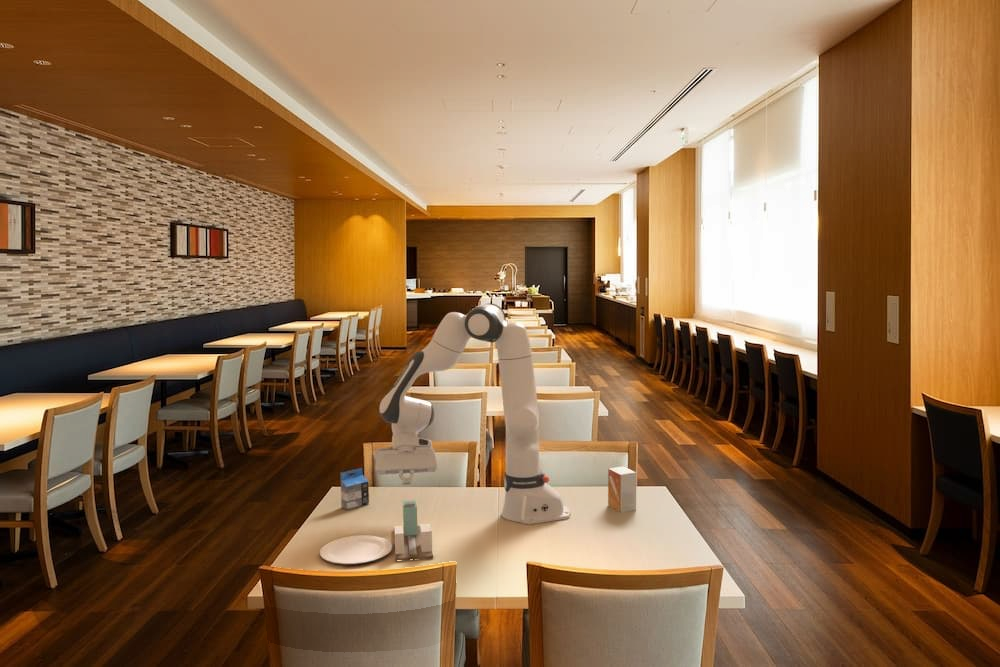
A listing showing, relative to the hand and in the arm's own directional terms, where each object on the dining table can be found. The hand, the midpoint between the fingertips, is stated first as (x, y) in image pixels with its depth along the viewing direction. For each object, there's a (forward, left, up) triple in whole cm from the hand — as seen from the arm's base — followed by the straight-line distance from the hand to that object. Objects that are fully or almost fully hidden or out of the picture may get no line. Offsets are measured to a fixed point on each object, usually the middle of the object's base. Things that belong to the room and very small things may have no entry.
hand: (407, 484), depth 243 cm
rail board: (0, +21, -12) cm, 24 cm away
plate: (+16, +24, -13) cm, 31 cm away
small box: (-72, +3, -12) cm, 73 cm away
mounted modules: (0, +27, -11) cm, 29 cm away
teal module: (0, +15, -10) cm, 18 cm away
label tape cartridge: (+17, -17, -12) cm, 27 cm away
